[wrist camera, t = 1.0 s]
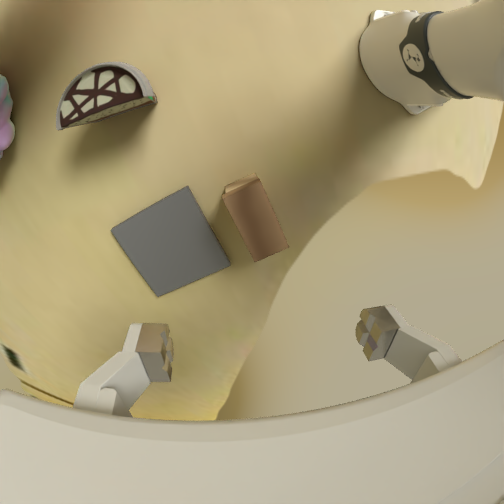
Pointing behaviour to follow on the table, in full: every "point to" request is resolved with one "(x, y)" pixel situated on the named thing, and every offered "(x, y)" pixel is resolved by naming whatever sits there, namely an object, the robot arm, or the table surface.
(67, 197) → the table surface
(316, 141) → the table surface
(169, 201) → the mat
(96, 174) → the table surface
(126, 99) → the half chocolate cake
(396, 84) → the robot arm
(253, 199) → the tall wooden block
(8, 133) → the pastel lumpy piece
